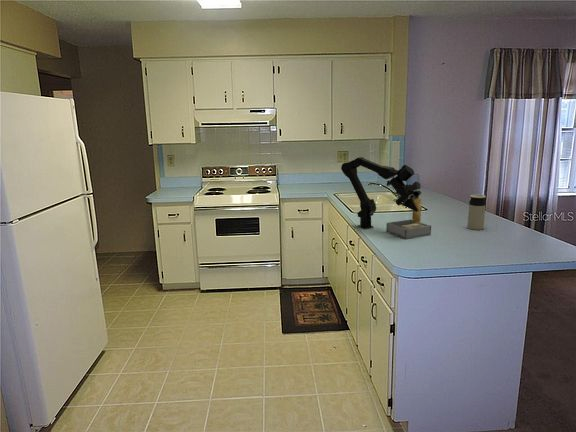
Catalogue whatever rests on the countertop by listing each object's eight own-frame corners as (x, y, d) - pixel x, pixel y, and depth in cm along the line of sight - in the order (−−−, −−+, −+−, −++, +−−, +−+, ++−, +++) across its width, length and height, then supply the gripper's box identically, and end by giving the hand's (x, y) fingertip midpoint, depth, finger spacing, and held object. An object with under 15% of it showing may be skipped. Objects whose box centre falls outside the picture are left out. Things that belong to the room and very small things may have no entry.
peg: (410, 222, 209) (411, 198, 206) (414, 221, 212) (415, 197, 209) (418, 223, 207) (419, 199, 204) (421, 222, 210) (422, 198, 207)
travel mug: (485, 230, 217) (488, 197, 213) (469, 230, 218) (471, 197, 214) (481, 226, 224) (484, 194, 220) (465, 226, 226) (468, 194, 222)
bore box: (386, 231, 219) (386, 222, 218) (410, 228, 225) (410, 219, 224) (405, 239, 205) (406, 229, 204) (430, 235, 211) (431, 225, 210)
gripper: (402, 179, 200) (422, 203, 195) (418, 174, 213) (438, 197, 209) (387, 193, 207) (406, 217, 202) (404, 188, 220) (422, 210, 216)
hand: (419, 210), depth 207 cm, fingers closed on peg, 4 cm apart
